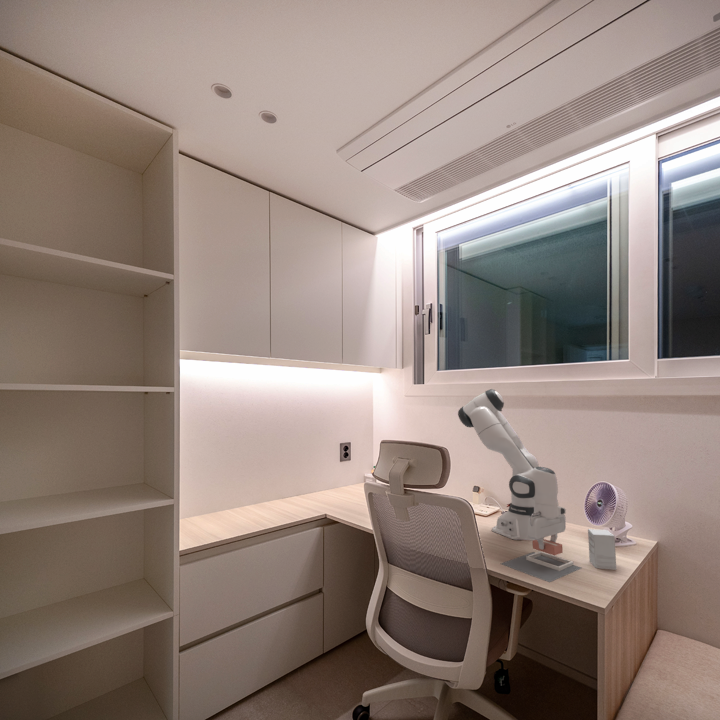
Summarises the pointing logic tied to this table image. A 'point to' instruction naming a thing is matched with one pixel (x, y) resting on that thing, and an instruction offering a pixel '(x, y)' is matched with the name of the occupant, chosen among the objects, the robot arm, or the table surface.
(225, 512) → the table surface
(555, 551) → the card deck
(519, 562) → the desk mat
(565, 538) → the table surface
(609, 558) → the supplement box
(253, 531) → the table surface
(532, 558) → the frame
